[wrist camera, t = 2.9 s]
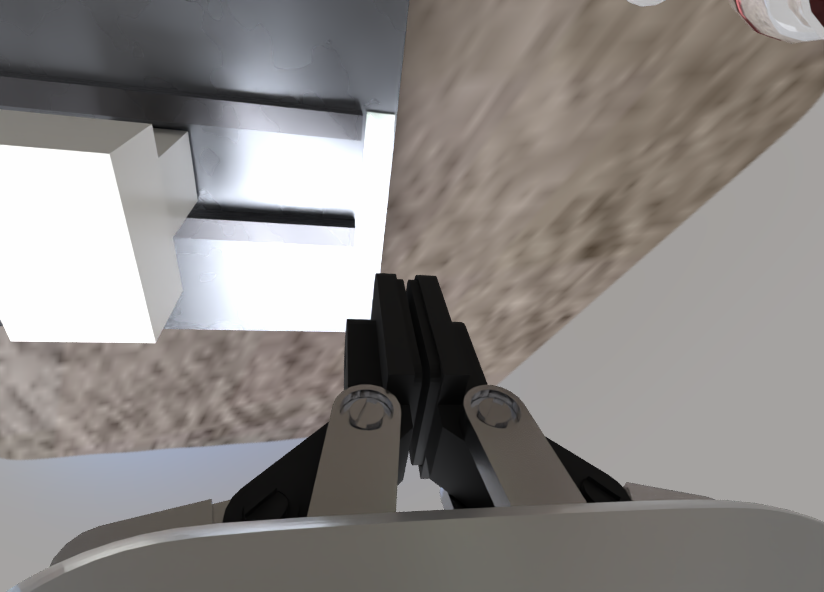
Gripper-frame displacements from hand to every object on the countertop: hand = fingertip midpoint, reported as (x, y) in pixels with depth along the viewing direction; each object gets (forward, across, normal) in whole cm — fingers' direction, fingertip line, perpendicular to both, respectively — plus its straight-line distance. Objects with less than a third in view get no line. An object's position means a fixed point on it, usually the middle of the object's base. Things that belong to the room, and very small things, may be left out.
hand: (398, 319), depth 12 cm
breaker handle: (+10, +9, -1) cm, 14 cm away
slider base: (+16, +10, -1) cm, 19 cm away
